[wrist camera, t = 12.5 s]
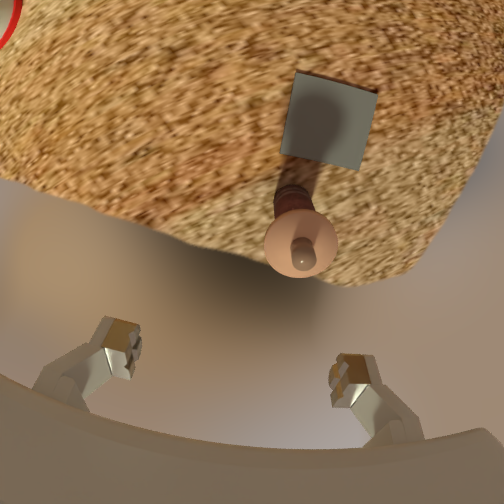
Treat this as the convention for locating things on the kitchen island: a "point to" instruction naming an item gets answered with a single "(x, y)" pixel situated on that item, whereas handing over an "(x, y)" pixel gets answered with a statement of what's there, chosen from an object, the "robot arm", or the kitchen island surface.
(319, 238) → the lid
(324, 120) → the mat
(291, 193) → the can
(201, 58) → the kitchen island surface
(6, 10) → the container
